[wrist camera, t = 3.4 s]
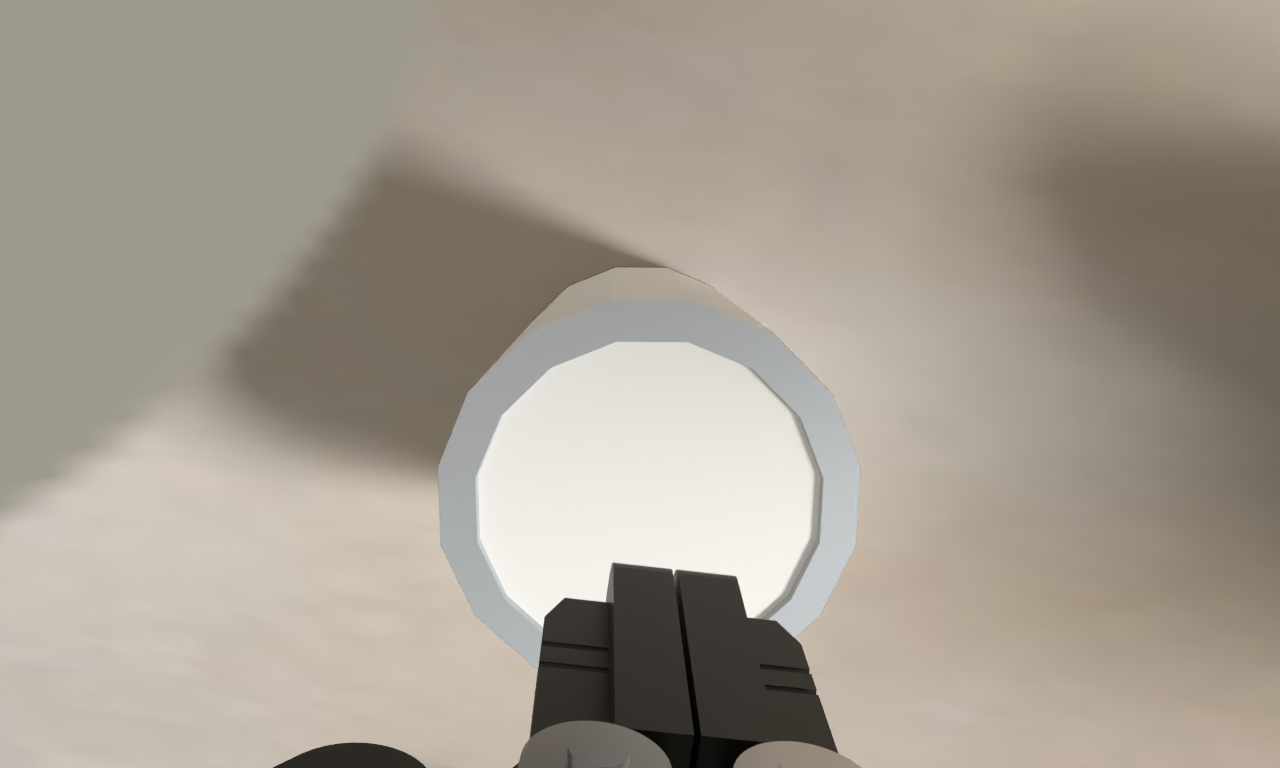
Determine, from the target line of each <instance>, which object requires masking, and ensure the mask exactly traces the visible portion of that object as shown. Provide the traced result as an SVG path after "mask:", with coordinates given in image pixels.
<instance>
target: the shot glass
mask: <svg viewBox="0 0 1280 768" xmlns="http://www.w3.org/2000/svg"><path fill="white" fill-rule="evenodd" d="M859 484H860V466H859V463H858V460H857V458H856V455H855V452H854V450H853V447H852V444H851V441H850V439H849V436H848V433H847V431H846V428H845V425H844V422H843V420H842V417H841V414H840V411H839V409H838V406H837V403H836V401H835V398H834V395H833V393H832V392H831V391H830V390H829V389H828V388H827V387H826V386H825V385H824V384H823V383H822V382H821V381H820V380H819V379H818V378H817V377H816V376H815V375H814V374H813V373H812V372H811V371H810V370H809V369H808V368H807V367H806V366H805V365H804V364H803V363H802V361H801V360H800V359H799V358H798V357H797V356H796V355H795V354H794V353H793V352H792V351H791V350H790V349H789V348H788V347H787V346H786V345H785V344H784V343H783V342H782V341H781V340H780V339H779V338H778V337H777V336H776V335H775V334H774V333H773V332H771V331H770V330H769V329H767V328H766V327H765V326H763V325H762V324H761V323H759V322H758V321H757V320H756V319H754V318H753V317H752V316H750V315H749V314H748V313H746V312H745V311H744V310H742V309H741V308H740V307H739V306H737V305H736V304H735V303H733V302H732V301H731V300H729V299H728V298H727V297H725V296H724V295H723V294H721V293H720V292H719V291H718V290H716V289H715V288H714V287H711V286H709V285H707V284H704V283H702V282H699V281H697V280H695V279H692V278H690V277H688V276H685V275H683V274H681V273H678V272H676V271H673V270H671V269H669V268H642V267H615V268H612V269H610V270H607V271H605V272H603V273H600V274H598V275H595V276H593V277H590V278H588V279H585V280H583V281H580V282H578V283H575V284H573V285H570V286H568V287H567V288H566V289H565V290H564V291H563V292H562V293H561V294H560V295H559V296H558V297H557V298H556V299H555V300H554V301H553V302H552V303H551V304H550V305H549V306H548V307H547V308H546V309H545V310H544V311H543V312H542V313H541V314H540V315H538V316H537V317H536V318H535V319H534V320H533V321H532V322H531V324H530V325H529V326H528V327H527V328H526V329H525V330H524V331H523V332H522V333H521V335H520V336H519V337H518V338H517V339H516V340H515V341H514V342H513V343H512V344H511V346H510V347H509V348H508V349H507V350H506V351H505V352H504V353H503V354H502V355H501V356H500V358H499V359H498V360H497V361H496V362H495V363H494V364H493V365H492V366H491V367H490V369H489V370H488V371H487V372H486V373H485V374H484V375H483V376H482V377H481V378H480V380H479V381H478V382H477V383H476V384H475V385H474V386H473V387H472V388H471V389H470V391H469V392H468V393H467V396H466V398H465V401H464V403H463V406H462V408H461V411H460V413H459V416H458V418H457V420H456V423H455V425H454V428H453V430H452V433H451V435H450V438H449V440H448V443H447V445H446V448H445V450H444V453H443V455H442V458H441V460H440V463H439V465H438V489H439V515H440V540H441V547H442V549H443V551H444V553H445V556H446V558H447V560H448V562H449V564H450V566H451V568H452V570H453V572H454V574H455V576H456V578H457V580H458V582H459V584H460V586H461V588H462V590H463V592H464V594H465V596H466V599H467V601H468V603H469V605H470V607H471V609H472V611H473V613H474V615H475V616H476V617H477V618H478V619H479V620H481V621H482V622H483V623H484V624H485V625H486V626H487V627H489V628H490V629H491V630H492V631H493V632H494V633H495V634H496V635H498V636H499V637H500V638H501V639H502V640H503V641H504V642H506V643H507V644H508V645H509V646H510V647H511V648H512V649H513V650H515V651H516V652H517V653H518V654H519V655H520V656H521V657H523V658H524V659H525V660H526V661H527V662H528V663H529V664H531V665H532V666H533V667H535V668H538V666H539V658H540V649H541V641H542V633H543V625H544V617H545V616H546V615H547V614H548V613H549V612H550V611H551V610H552V609H553V608H554V607H555V606H556V605H557V604H559V603H560V602H561V601H562V600H563V599H564V598H572V599H581V600H590V601H599V602H606V596H607V588H608V581H609V575H610V570H611V565H612V562H614V563H623V564H632V565H641V566H649V567H658V568H667V569H672V571H673V576H674V573H675V570H676V569H678V570H687V571H696V572H705V573H714V574H723V575H732V576H736V577H737V580H738V584H739V587H740V591H741V595H742V599H743V603H744V607H745V611H746V614H747V618H756V619H765V620H775V621H777V622H778V623H779V624H780V625H781V626H782V627H783V628H785V629H786V630H787V631H788V632H789V633H790V634H791V635H792V636H793V637H795V636H796V635H797V634H799V633H800V632H801V631H802V630H803V629H804V628H806V627H807V626H808V625H809V624H810V623H811V622H812V621H814V620H815V619H816V618H817V617H818V616H819V615H820V614H821V612H822V610H823V608H824V606H825V604H826V602H827V600H828V598H829V596H830V594H831V592H832V590H833V589H834V587H835V585H836V583H837V581H838V579H839V577H840V575H841V573H842V571H843V569H844V567H845V565H846V563H847V561H848V559H849V557H850V555H851V553H852V552H853V550H854V548H855V543H856V528H857V513H858V498H859Z"/></svg>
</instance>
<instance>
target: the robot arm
mask: <svg viewBox="0 0 1280 768" xmlns="http://www.w3.org/2000/svg"><path fill="white" fill-rule="evenodd" d="M273 768H426V767H425V766H424V765H423V764H422V763H421V762H419V761H418V760H417V759H415V758H414V757H412V756H410V755H408V754H407V753H405V752H402V751H400V750H397V749H394V748H391V747H387V746H383V745H378V744H370V743H341V744H334V745H328V746H323V747H320V748H316V749H313V750H310V751H308V752H305V753H303V754H300V755H298V756H296V757H294V758H292V759H290V760H288V761H286V762H284V763H282V764H279V765H277V766H275V767H273ZM513 768H861V767H860V766H859V765H857V764H856V763H854V762H853V761H851V760H850V759H848V758H846V757H844V756H842V755H840V754H838V751H837V748H836V746H835V743H834V740H833V737H832V734H831V731H830V728H829V725H828V722H827V719H826V716H825V713H824V710H823V707H822V704H821V702H820V699H819V696H818V695H816V687H815V684H814V681H813V678H812V675H811V674H809V666H808V663H807V660H806V658H805V655H804V652H803V649H802V646H801V644H800V643H799V642H798V641H797V640H796V639H795V638H794V637H793V636H792V635H791V634H790V633H789V632H788V631H787V630H786V629H785V628H783V627H782V626H781V625H780V624H779V623H778V622H777V621H775V620H765V619H756V618H747V614H746V611H745V607H744V603H743V599H742V595H741V591H740V587H739V584H738V580H737V577H736V576H732V575H723V574H714V573H705V572H696V571H687V570H678V569H676V570H675V573H674V576H673V571H672V569H667V568H658V567H649V566H641V565H632V564H623V563H614V562H612V565H611V570H610V575H609V581H608V588H607V596H606V602H599V601H590V600H581V599H572V598H564V599H563V600H562V601H561V602H560V603H559V604H557V605H556V606H555V607H554V608H553V609H552V610H551V611H550V612H549V613H548V614H547V615H546V616H545V617H544V625H543V633H542V641H541V649H540V658H539V666H538V674H537V682H536V690H535V698H534V706H533V715H532V723H531V731H530V739H529V740H528V742H527V743H526V744H525V746H524V748H523V750H522V753H521V756H520V760H519V763H518V764H517V765H516V766H514V767H513Z"/></svg>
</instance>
